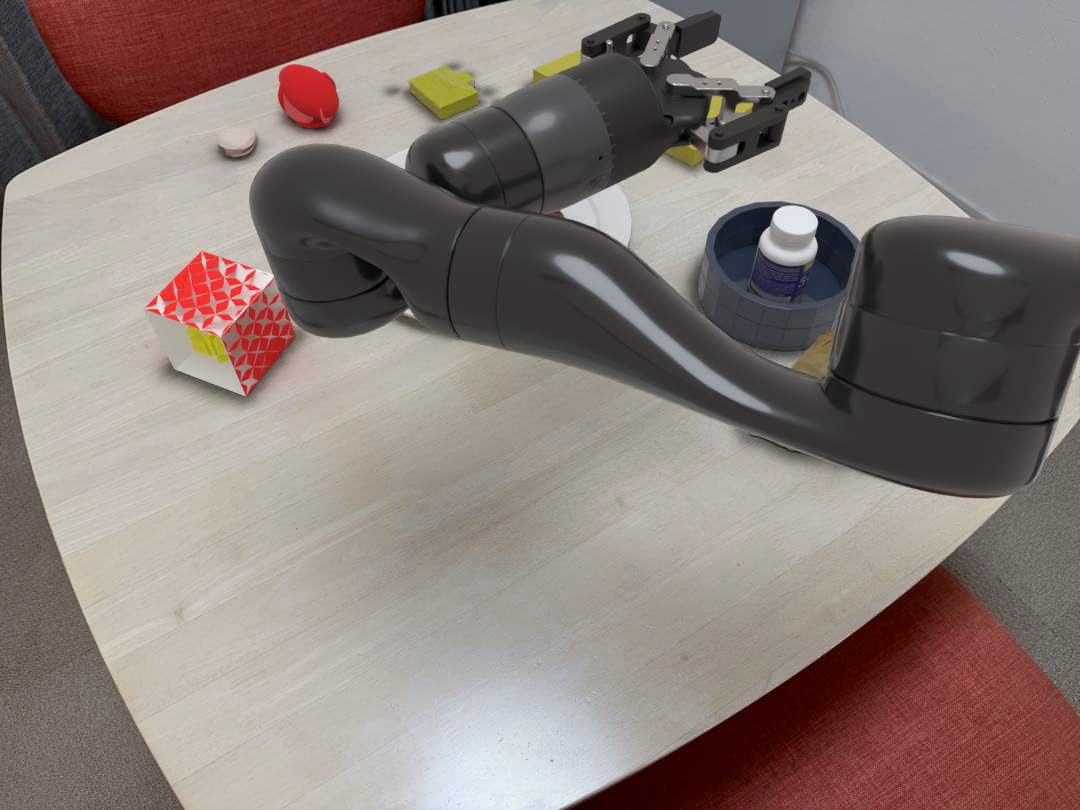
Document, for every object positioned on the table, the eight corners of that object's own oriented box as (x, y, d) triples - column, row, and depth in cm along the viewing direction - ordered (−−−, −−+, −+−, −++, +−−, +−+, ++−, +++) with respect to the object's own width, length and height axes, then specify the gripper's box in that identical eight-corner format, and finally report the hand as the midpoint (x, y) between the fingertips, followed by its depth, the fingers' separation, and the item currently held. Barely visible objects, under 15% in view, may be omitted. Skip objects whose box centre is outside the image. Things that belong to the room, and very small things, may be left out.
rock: (928, 422, 74) (839, 342, 78) (927, 411, 66) (828, 322, 70) (832, 511, 76) (750, 429, 80) (819, 510, 68) (729, 419, 72)
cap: (356, 114, 105) (347, 68, 100) (322, 140, 102) (312, 93, 97) (306, 93, 108) (295, 47, 103) (271, 118, 105) (258, 71, 100)
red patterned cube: (174, 369, 81) (143, 309, 75) (226, 312, 85) (201, 250, 79) (247, 397, 79) (221, 337, 73) (296, 336, 83) (276, 275, 77)
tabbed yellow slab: (393, 91, 108) (389, 70, 106) (456, 65, 111) (454, 44, 109) (437, 130, 103) (435, 109, 101) (502, 102, 106) (501, 81, 104)
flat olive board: (754, 118, 104) (596, 45, 114) (757, 101, 102) (597, 29, 112) (693, 166, 99) (533, 85, 109) (695, 150, 97) (533, 69, 107)
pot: (798, 229, 92) (810, 186, 88) (880, 325, 84) (898, 283, 79) (672, 265, 89) (678, 223, 85) (745, 369, 81) (756, 328, 76)
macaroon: (212, 153, 101) (206, 134, 99) (244, 131, 103) (238, 112, 101) (240, 166, 99) (234, 147, 97) (271, 143, 102) (266, 124, 100)
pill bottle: (802, 314, 84) (825, 243, 77) (746, 307, 85) (764, 236, 78) (802, 275, 87) (825, 203, 80) (748, 269, 88) (766, 197, 81)
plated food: (320, 341, 83) (313, 316, 80) (358, 146, 101) (353, 120, 99) (641, 338, 83) (644, 313, 80) (620, 143, 101) (622, 117, 99)
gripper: (652, 143, 48) (854, 48, 54) (502, 29, 55) (696, -45, 61) (639, 247, 54) (822, 151, 60) (505, 132, 61) (681, 55, 67)
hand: (758, 52), depth 60 cm, fingers open, 8 cm apart
